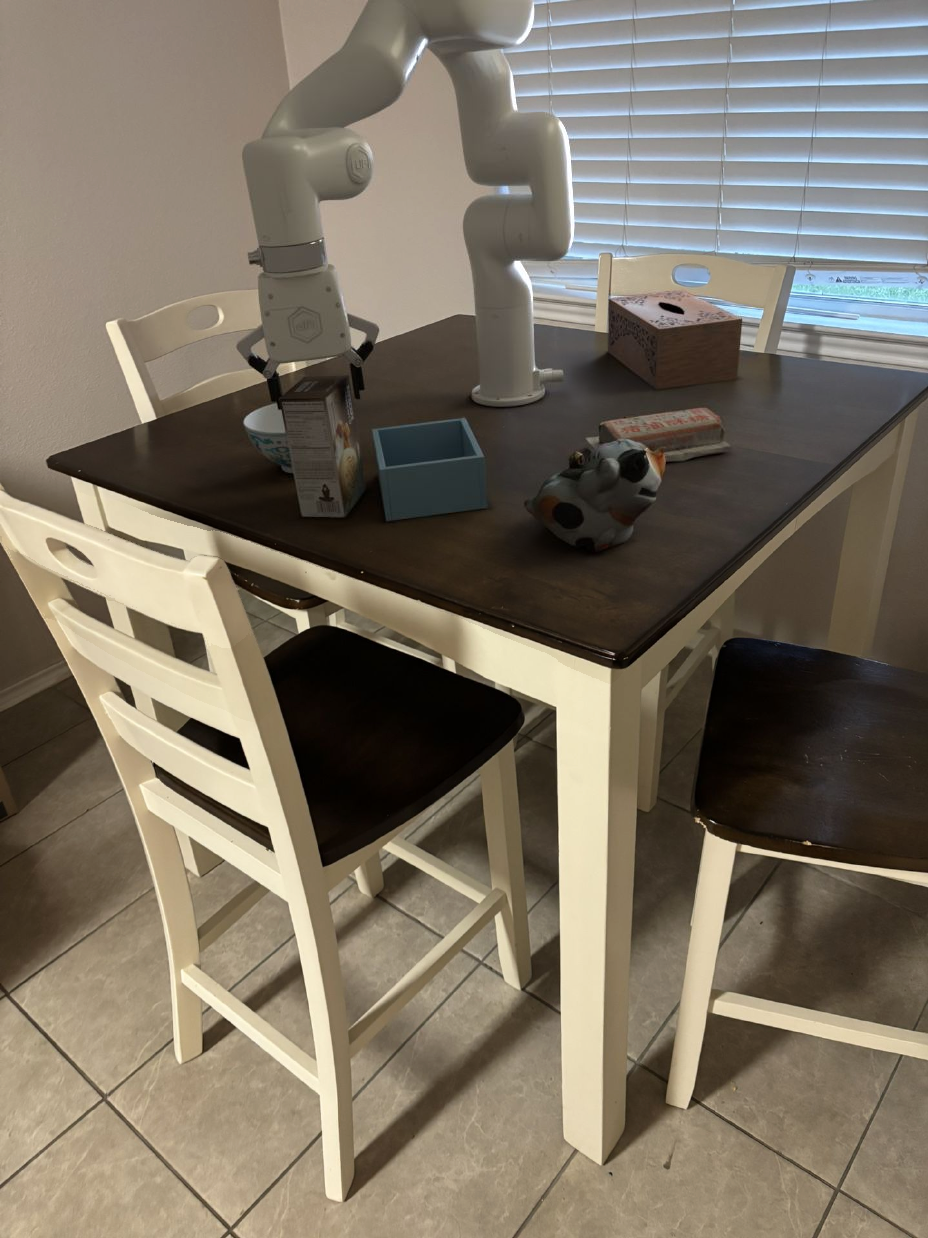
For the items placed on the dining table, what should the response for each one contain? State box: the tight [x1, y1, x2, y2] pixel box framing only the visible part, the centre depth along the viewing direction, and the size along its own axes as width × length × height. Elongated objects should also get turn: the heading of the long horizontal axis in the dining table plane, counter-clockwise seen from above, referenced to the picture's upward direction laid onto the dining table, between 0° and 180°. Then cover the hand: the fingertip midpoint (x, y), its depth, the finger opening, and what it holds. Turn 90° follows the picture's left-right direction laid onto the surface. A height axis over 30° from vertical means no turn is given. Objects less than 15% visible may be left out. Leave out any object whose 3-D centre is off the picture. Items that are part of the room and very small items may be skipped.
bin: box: [371, 417, 488, 522], centre depth 119 cm, size 13×16×7 cm
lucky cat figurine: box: [523, 439, 666, 553], centre depth 103 cm, size 15×12×14 cm
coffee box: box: [279, 374, 367, 518], centre depth 116 cm, size 9×6×16 cm
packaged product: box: [585, 407, 732, 463], centre depth 126 cm, size 18×5×10 cm
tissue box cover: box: [607, 289, 743, 391], centre depth 160 cm, size 26×14×10 cm, turn 10°
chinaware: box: [242, 402, 293, 474], centre depth 131 cm, size 15×15×8 cm
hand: (319, 401), depth 113 cm, fingers open, 9 cm apart
